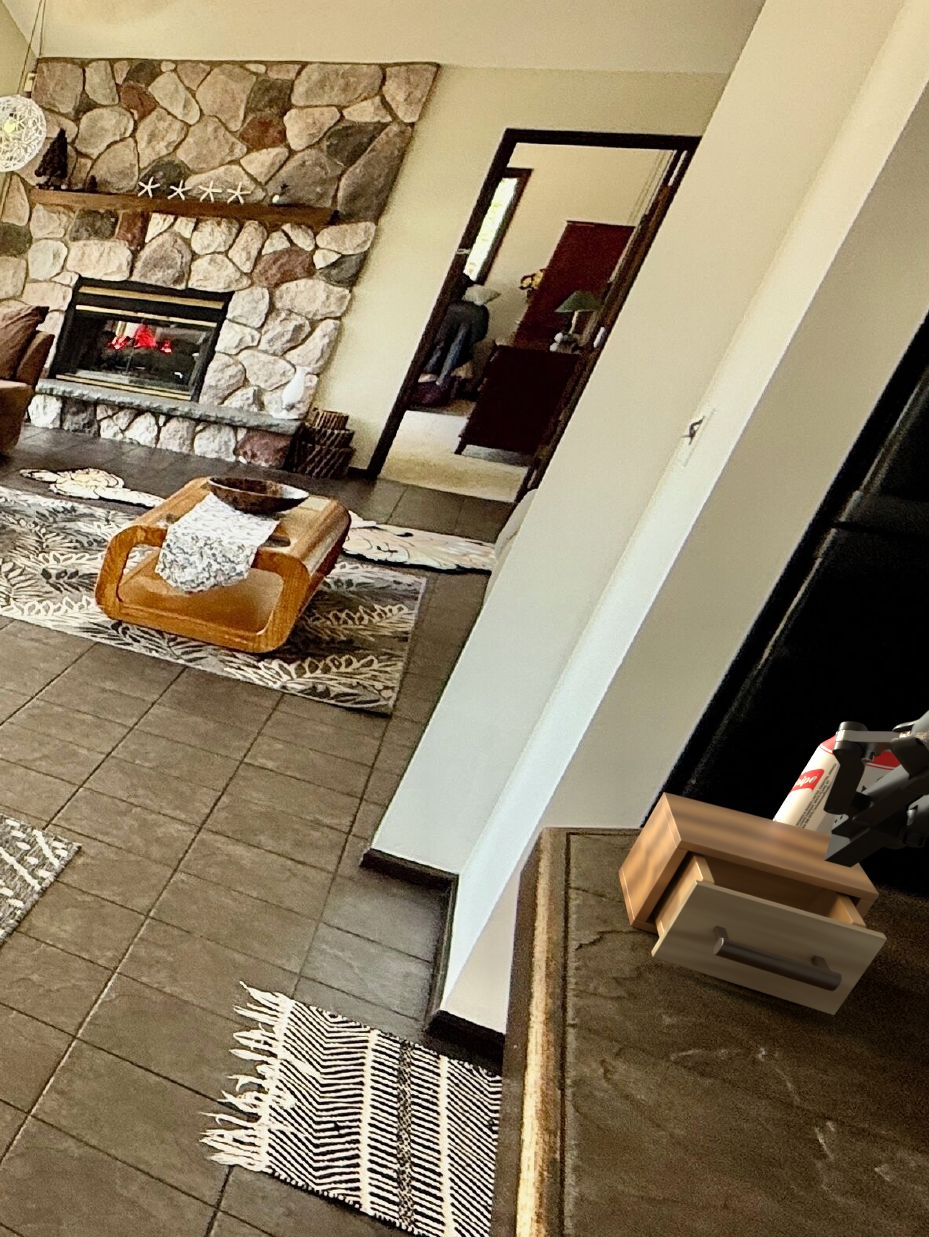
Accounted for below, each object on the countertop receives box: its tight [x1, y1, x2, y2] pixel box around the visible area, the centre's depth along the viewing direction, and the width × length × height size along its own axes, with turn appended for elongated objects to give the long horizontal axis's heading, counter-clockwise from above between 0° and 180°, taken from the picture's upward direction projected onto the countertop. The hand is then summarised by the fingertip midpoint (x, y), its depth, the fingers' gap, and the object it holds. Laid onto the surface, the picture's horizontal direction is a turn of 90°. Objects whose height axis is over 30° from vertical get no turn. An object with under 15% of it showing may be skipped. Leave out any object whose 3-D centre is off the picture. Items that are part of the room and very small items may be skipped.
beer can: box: [772, 730, 901, 835], centre depth 122 cm, size 6×6×16 cm
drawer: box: [651, 850, 888, 1016], centre depth 104 cm, size 18×11×8 cm, turn 139°
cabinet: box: [618, 792, 880, 936], centre depth 112 cm, size 15×13×10 cm
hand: (841, 849), depth 95 cm, fingers closed
